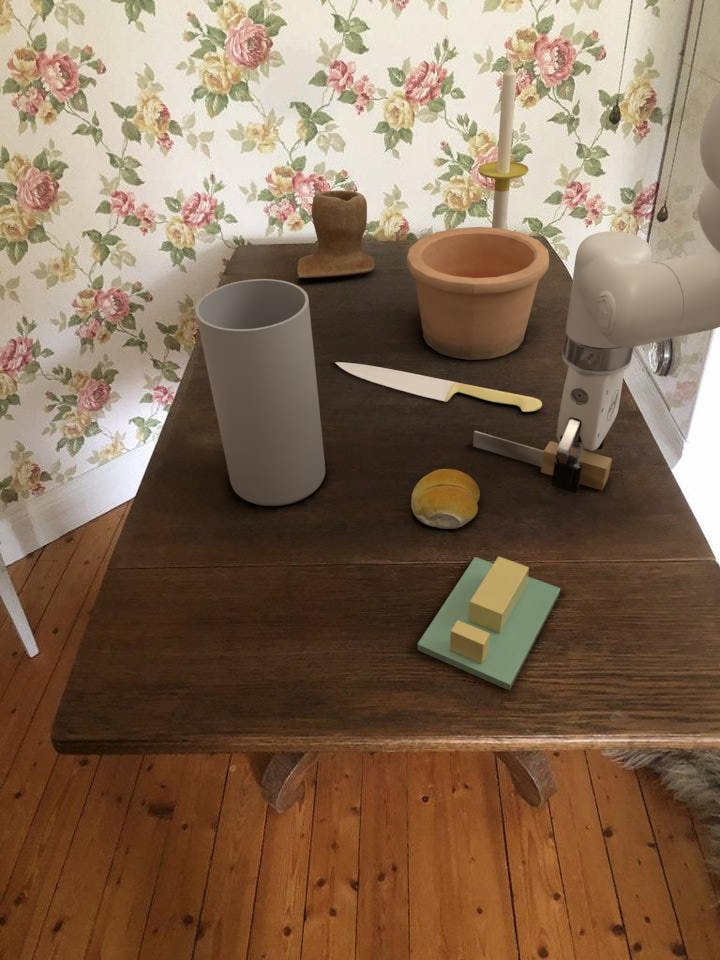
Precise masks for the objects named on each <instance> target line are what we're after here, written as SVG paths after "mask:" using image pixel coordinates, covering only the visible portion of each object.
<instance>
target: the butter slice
mask: <svg viewBox="0 0 720 960" xmlns="http://www.w3.org/2000/svg"><path fill="white" fill-rule="evenodd" d="M489 640H490V633H488V632H485V631H483V630H481V629H478V628H476V627H473V626H471V625H469V624H466V623H464V622H461V621H459V620H457V622H456V623H455V625H454V626H453V628H452V630H451V637H450V650H452V651H454V652H456V653H458V654H461V655H463V656H465V657H468V658H470V659H472V660H475V661H477V662H479V663H483V661H484V659H485V657H486V656H487V654H488V650H489Z"/></svg>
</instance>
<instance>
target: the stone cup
mask: <svg viewBox="0 0 720 960" xmlns="http://www.w3.org/2000/svg"><path fill="white" fill-rule="evenodd" d="M311 218H312V223H313V228H314V232H315V235H316V239H317V246H318V247H317V250H316V251H315V252H314V253H312V254H307V255H304V256H303V257H301V258H300V259H299V260H298V262H297V267H296V274H297V278H298V279H321V278H334V277H335V278H336V277H346V276H354V275H361V274H367V273H370V272H372V271H373V270H374V269H375V261H374V259H373V258H372V257H371V256H370V255H369V254H367V253H365V252H363V251H362V248H363V247H362V246H363V239H364V238H363V237H364V235H365V232H366V227H367V222H368V203H367V199H366V197H365V195H364V194H362V193H360V192H357V191H352V190H344V189H343V190H341V189H337V190H326V191H320V192H317V193H315V194H314V196H313V200H312V203H311Z"/></svg>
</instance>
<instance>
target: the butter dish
mask: <svg viewBox="0 0 720 960" xmlns="http://www.w3.org/2000/svg"><path fill="white" fill-rule="evenodd" d="M529 571H530V567H529V566H526V565H524V564H521V563H518V562H515V561H512V560H510V559H507V558H504V557H503V556H502V557H501V556H500V555H499V556H497V558H496V559H495V561H494V562H489V561H488V560H484V559H482V558H480V557H477V556H474V557H473V559H472V561H471V562H470V563H469V565H468V566H467V568H466V570H465V571H464V572H463V574H462V576H461V577H460V579H459V580H458V582H457V583H456V585H455V586H454V587H453V589H452V591H451V593H450V594H449V595H448V597H447V598H446V600H445V602H444V603H443V605H442V606H441V607H440V609H439V610H438V611H437V613H436V615H435V617H434V618H433V620H432V621H431V622H430V624H429V625H428V627H427V629H426V630H425V631H424V633H423V634H422V636H421V638H420V639H419V640H418V642H417V645H416V647H417V651H418V652H421V653H423V654H425V655H427V656H430V657H432V658H434V659H437V660H439V661H441V662H443V663H446V664H448V665H450V666H453V667H455V668H457V669H459V670H462V671H464V672H466V673H467V674H468V673H469V674H471V675H473V676H475V677H476V678H477V677H478V678H479V679H482V680H484V681H487V682H489V683H491V684H492V685H493V684H494V685H495V686H498V687H499V688H502V689H505V690H507V691H510V690H511V689H512V687H513V686H514V683H515V681H516V679H517V678H518V676H519V674H520V671H521V670H522V667H523V666H524V664H525V662H526V660H527V658H528V657H529V654H530V652H531V650H532V648H533V646H534V645H535V643H536V641H537V639H538V637H539V635H540V633H541V631H542V629H543V627H544V625H545V623H546V621H547V619H548V617H549V616H550V614H551V612H552V610H553V609H554V606H555V604H556V602H557V601H558V598H559V596H560V594H561V588H560V587H558V586H555V585H553V584H550V583H547V582H545V581H542V580H539V579H536V578H533V577H532V576H531V577H530V576H529ZM457 620H459V621H461V622H464V623H466V624H469V625H471V626H473V627H476V628H478V629H481V630H483V631H485V632H488V633H490V640H489V650H488V654H487V656H486V657H485V659H484V661H483V663H479V662H477V661H475V660H472V659H470V658H468V657H465V656H463V655H461V654H458V653H456V652H454V651H452V650H450V637H451V630H452V628H453V626H454V625H455V623H456V622H457Z"/></svg>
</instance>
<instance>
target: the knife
mask: <svg viewBox="0 0 720 960" xmlns="http://www.w3.org/2000/svg"><path fill="white" fill-rule="evenodd" d="M334 363H335V364H336V365H337V366H338V368H340V369H342V370H343V371H345V372H346V373H348V374H351V375H353V376H355V377H357V378H359V379H363V380H366V381H369V382H371V383H375V384H378V385H381V386H385V387H388V388H391V389H394V390H398V391H402V392H405V393H409V394H413V395H416V396H420V397H424V398H429V399H432V400H437V401H440V402H441V401H442V402H446V403H447V402H449V400H451V398H452V397H453V396H454V395H455V394H457V393H461V394H465V395H468V396H471V397H475V398H478V399H482V400H485V401H489V402H493V403H499V404H505V405H506V404H507V405H514V406H517V407H519V408H520V410H521V412H525V413H528V412H535V411H538V410H540V409H541V408H542V406H543V401H541V399H538V398H536V397H533V396H527V395H522V394H518V393H512V392H508V391H502V390H497V389H492V388H486V387H482V386H477V385H472V384H466V383H462V382H456V381H452V380H446V379H442V378H437V377H432V376H426V375H422V374H418V373H417V374H416V373H412V372H407V371H402V370H396V369H391V368H385V367H380V366H376V365H369V364H363V363H354V362H353V363H352V362H341V361H336V362H334Z"/></svg>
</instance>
